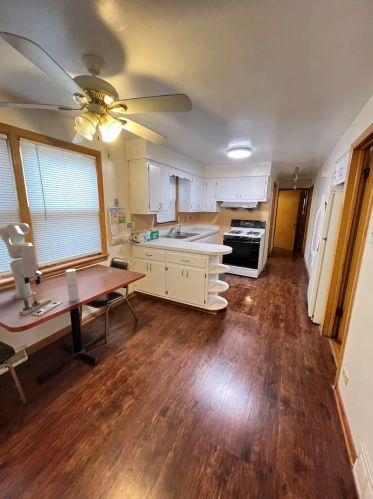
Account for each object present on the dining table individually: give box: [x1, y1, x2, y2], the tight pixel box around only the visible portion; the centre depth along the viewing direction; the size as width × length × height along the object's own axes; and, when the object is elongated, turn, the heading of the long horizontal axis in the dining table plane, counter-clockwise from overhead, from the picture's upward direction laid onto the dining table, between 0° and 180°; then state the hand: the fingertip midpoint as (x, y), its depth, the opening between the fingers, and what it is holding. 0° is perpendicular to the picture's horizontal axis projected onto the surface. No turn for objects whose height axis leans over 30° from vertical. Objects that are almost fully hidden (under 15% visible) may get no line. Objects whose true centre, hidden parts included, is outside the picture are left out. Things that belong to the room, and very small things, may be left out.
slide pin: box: [30, 292, 40, 306], centre depth 156 cm, size 5×3×9 cm, turn 79°
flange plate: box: [31, 300, 63, 317], centre depth 156 cm, size 7×20×1 cm, turn 169°
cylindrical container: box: [65, 268, 80, 302], centre depth 169 cm, size 7×7×25 cm
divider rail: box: [18, 297, 52, 316], centre depth 157 cm, size 5×22×10 cm, turn 169°
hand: (32, 283), depth 153 cm, fingers open, 9 cm apart
